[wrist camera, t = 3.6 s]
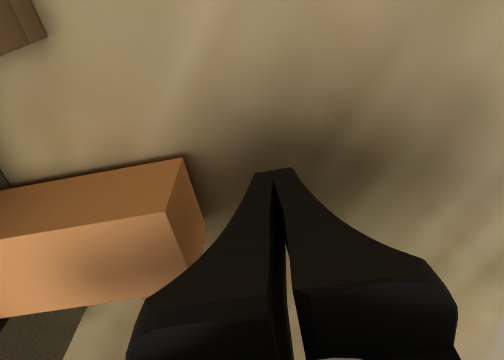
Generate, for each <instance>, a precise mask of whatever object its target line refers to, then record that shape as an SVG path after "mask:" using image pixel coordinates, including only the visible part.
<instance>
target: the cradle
mask: <svg viewBox="0 0 504 360" xmlns="http://www.w3.org/2000/svg"><path fill="white" fill-rule="evenodd" d="M46 37H47V36H46V33H45V31H44V29H43V27H42V25H41V23H40V21H39V18H38V16H37V14H36V12H35V10H34V8H33V6H32V3H31V1H30V0H0V56H1V55H4V54H6V53H9V52H11V51H14V50H16V49H19V48H21V47H24V46H26V45H29V44H31V43H34V42H36V41H39V40H41V39H44V38H46Z"/></svg>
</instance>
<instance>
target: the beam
mask: <svg viewBox="0 0 504 360" xmlns="http://www.w3.org/2000/svg"><path fill="white" fill-rule="evenodd" d="M6 189H11V186H10V185H9V183H8V182H7V180H6V179H5V177H4V176H3V174H2V173H1V171H0V190H6ZM86 308H87V306H82V307H75V308H68V309H61V310H54V311H47V312H41V313H34V314H27V315H20V316H13V317H6V318H0V360H63V358H64V355H65V353H66V351H67V349H68V347H69V345H70V342H71V340H72V338H73V336H74V334H75V331H76V329H77V327H78V325H79V323H80V321H81V318H82V316H83V314H84V312H85V310H86Z"/></svg>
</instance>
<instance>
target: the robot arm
mask: <svg viewBox="0 0 504 360" xmlns="http://www.w3.org/2000/svg"><path fill="white" fill-rule="evenodd" d="M285 242H286V246H287V250H288V254H289V258H290V268H291V280H292V290H293V295H294V300H295V305H296V310H297V315H298V320H299V325H300V330H301V336H302V341H303V346H304V351H305V357H306V360H461V359H460V357H459V355H458V353H457V351H456V349H455V348H454V340H455V333H456V327H457V321H458V308H457V305H456V303H455V301H454V299H453V297H452V296H451V294H450V292H449V290H448V289H447V287H446V286H445V284H444V283H443V282H442V281H441V279H440V278H439V277H438V276H437V274H436V273H435V272H434V271H433V269H432V268H431V267H430V266H429V265H428V263H427V262H426V261H425V260H424V259H422V258H419V257H416V256H413V255H410V254H407V253H405V252H402V251H399V250H396V249H393V248H391V247H389V246H387V245H384V244H382V243H380V242H378V241H375V240H373V239H371V238H370V237H368V236H366V235H364V234H362V233H361V232H359V231H357V230H355V229H354V228H352V227H351V226H349V225H348V224H346V223H345V222H343V221H342V220H341V219H339V218H338V217H337V216H335V215H334V214H333V213H332V212H330V211H329V210H328V209H327V208H326V207H325V206H324V205H323V204H321V203H320V202H319V201H318V200H317V199H316V198H315V197H314V196H313V194H312V193H311V192H310V191H309V190H308V189H307V188H306V187H305V185H304V184H303V183H302V182H301V180H300V179H299V177H298V176H297V174H296V173H295V171H294V169H292V168H291V167H290V168H284V169H278V170H272V171H267V172H261V173H255V175H254V176H253V178H252V181H251V183H250V185H249V188H248V190H247V192H246V194H245V196H244V198H243V200H242V202H241V204H240V206H239V207H238V209H237V211H236V212H235V214H234V216H233V217H232V219H231V220H230V222H229V223H228V225H227V226H226V228H225V229H224V231H223V232H222V233H221V234H220V236H219V237H218V238H217V239H216V241H215V242H214V243H213V244H212V245H211V246H210V247H209V248H208V249H207V250H206V251H205V252H204V254H203V255H202V256H201V257H200V258H199V259H198V260H197V261H195V262H194V263H193V264H192V265H191V266H190V267H189V268H188V269H186V270H185V271H184V272H183V273H181V274H180V275H179V276H178V277H176V278H175V279H174V280H173V281H171V282H170V283H168V284H167V285H166V286H164V287H163V288H161V289H160V290H158V291H157V292H155V293H154V294H153V295H151V296H150V297H148V298H146V299H145V301H144V304H143V306H142V308H141V310H140V313H139V315H138V318H137V320H136V323H135V326H134V329H133V332H132V336H131V339H130V342H129V345H128V349H127V352H126V360H294V355H293V347H292V339H291V332H290V324H289V316H288V308H287V289H286V249H285Z"/></svg>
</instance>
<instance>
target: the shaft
mask: <svg viewBox="0 0 504 360" xmlns="http://www.w3.org/2000/svg"><path fill="white" fill-rule="evenodd" d="M205 231H206V225H205V222H204V219H203V217H202V214H201V211H200V208H199V205H198V202H197V199H196V196H195V193H194V190H193V187H192V184H191V181H190V178H189V175H188V172H187V169H186V166H185V163H184V160H183V157H182V158H176V159H171V160H165V161H160V162H154V163H149V164H143V165H138V166H132V167H127V168H121V169H116V170H110V171H105V172H99V173H94V174H88V175H83V176H77V177H72V178H66V179H61V180H55V181H50V182H44V183H39V184H33V185H28V186H22V187H17V188H11V189H6V190H0V318H6V317H13V316H20V315H27V314H34V313H41V312H47V311H54V310H61V309H68V308H75V307H82V306H89V305H96V304H102V303H109V302H116V301H123V300H130V299H137V298H144V297H150V296H151V295H153V294H154V293H155V292H157V291H158V290H160V289H161V288H163V287H164V286H166V285H167V284H168V283H170V282H171V281H173V280H174V279H175V278H176V277H178V276H179V275H180V274H181V273H183V272H184V271H185V270H186V269H188V268H189V267H190V266H191V265H192V264H193V263H194V262H195V261H197V260H198V259H199V258H200V257H201V256H202V250H203V243H204V237H205Z"/></svg>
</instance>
